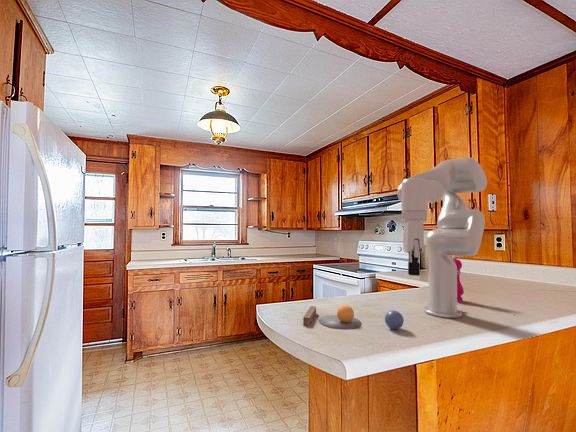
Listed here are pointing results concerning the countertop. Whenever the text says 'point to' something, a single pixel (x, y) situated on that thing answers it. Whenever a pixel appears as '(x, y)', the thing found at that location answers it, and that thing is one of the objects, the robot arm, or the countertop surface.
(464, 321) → the countertop surface
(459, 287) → the pepper mill
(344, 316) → the object ball
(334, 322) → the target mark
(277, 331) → the countertop surface
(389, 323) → the blue ball
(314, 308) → the rail
